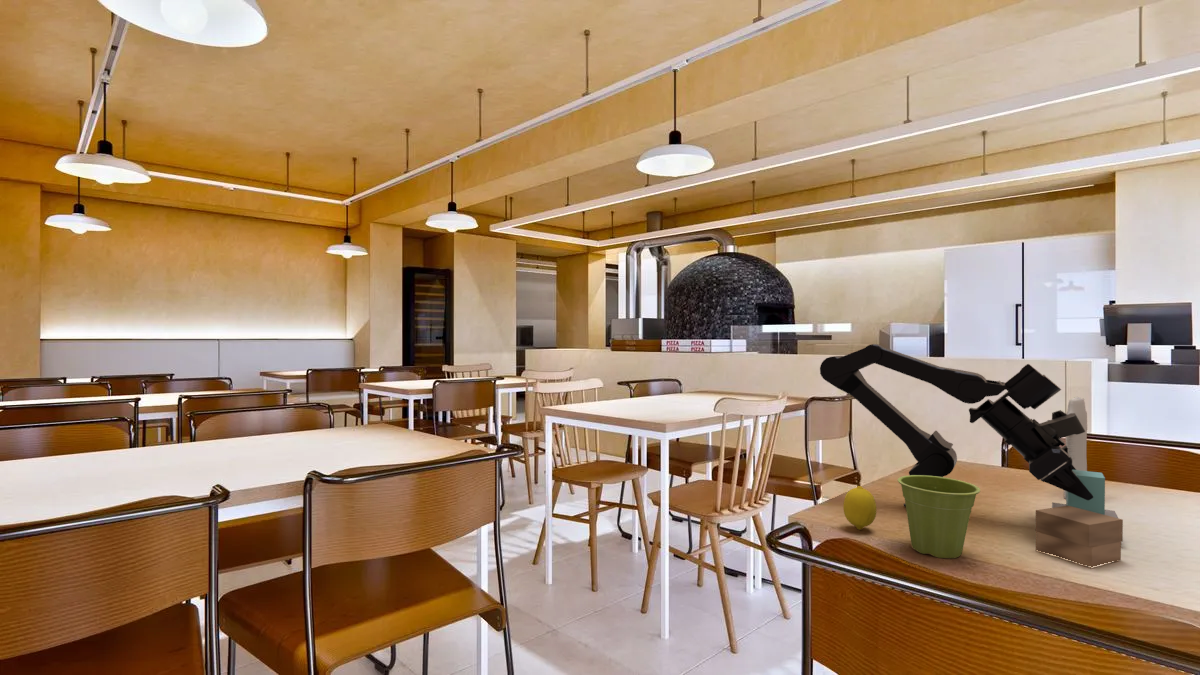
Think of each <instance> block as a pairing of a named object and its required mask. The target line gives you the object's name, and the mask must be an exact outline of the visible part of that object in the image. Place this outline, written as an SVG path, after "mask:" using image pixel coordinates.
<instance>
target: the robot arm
mask: <svg viewBox="0 0 1200 675" xmlns="http://www.w3.org/2000/svg"><path fill="white" fill-rule="evenodd" d="M820 363H821V364H820V366H819V372H820V373H819V374H820V377H822V379H823V380H825V381H826V382H827V383H829V384H830V385H832V386H834V387H835V388H836V389H838V390H840V391H842V392H844V393H846V394H848V395H850V396H851V397H853V398H854V399H855V400H856V401H857V402H859V404H860V405H862V406H863V407H864V408H865V409H866V410H867V411H869V412H870V413H871V414H872V415H873V417H875V418H876V419H878V420H879V421H880V423H882V424H883V425H884V426H885V427H887V428H888V429H889V431H891V432H892V433H893V434H894V435H895V436H896V437H898V439H899V440H901V441H902V442H903V443H904V444H905V445H906V446H907V448H908V450H909V451H910V453H911V454H912V456H913V458H914V459H915V460H916V461H917V462H916V463H914V465H913V466H912V467H911V468H910V470H909V471H908V475H924V476H925V475H927V476H938V477H946V476H948V475H950V474H951V473H952V472H953V470H954V469H955V467H956V465H957V462H958V456H957V452H956V451H955V450H954V448H953V446H954V444H953V443H952V442H949V441H947V440H946V439H945V438H944V437H943V436H942V435H941V433H939V431H938V430H934V431H933V432H932V433H928V432H926V431H924V430H923V429H921V428H920V427H918V426H917V425H916V424H915V423H914V422H913V421H911V419H909V418H908V417H907V416H906V415H904V414H903V413H902V412H901V411H900V410H899V409H898V408H897V407H896V406H894V405H893V404H892V403H891V402H890V401H889V400H888V399H887V398H885V397H884V396H883V395H882V394H881V393H880V392H879V391H878V390H876V389H875V388H874V387H873V386H872V385H871V384H869V383H868V382H867V380H866V379H865V377H864V376H863V374H862V373H861V371H860V370H862V369H864V368H866V367H869V366H870V365H874V364H876V365H878V366H882V367H884V368H887V369H890V370H892V371H895V372H898V373H901V374H903V375H906V376H909V377H912V378H915V379H917V380H920V381H922V382H925V383H928V384H930V385H932V386H934V387H936V388H937V389H939V390H940V391H943V392H944V393H946V394H947V395H949V396H950V397H953V398H954V399H956V400H958V401H960V402H962V403H964V404H968V405H970V404H971V405H973V404H977V403H979V402H981V401H983V400H984V399H985V398H987V397H993V396H994V397H995V396H999V395H1000V394H1001V393H1003V392H1004V391H1007V392H1005V393H1004V394H1003V395H1001V396H999V398H998V399H996V400H995V401H992V400H991V399H987V400H985V401H984V402H983V403H981V404H980V405H979V406H977V407H976V408H974V407H970V408H968V412H969V423H971V424H974V423H976V422H977V421H978V420H979V419H982V420H983V421H984V422H985V423H987V425H988V426H990V427H991V428H992V429H993V430H994V431H995V432H996V434H998V435H999V436H1001V437H1002V438H1003V439H1004V442H1005V443H1006V444H1007V445H1008V446H1011V447H1013V448H1014V450H1016V451H1017V452H1018V453H1019V454H1020V455H1021V456H1022V457H1023V459H1024V460H1025V461H1026V462H1027V463H1028V466H1029V467H1028V470H1029V471H1028V472H1029V473H1030V474H1031V475H1032V476H1033V477H1034V478H1035V479H1036V480H1038V481H1041V482H1043V483H1046V484H1049V485H1050V486H1051V485H1052V486H1053V487H1055V488H1058V489H1061V490H1063V491H1064V490H1065V491H1067V492H1070V493H1072V494H1074V495H1076V496H1079V497H1081V498H1083V499H1085V500H1090V499H1092V498H1093V495H1092V494H1091V493H1090V491H1089V490H1088V489H1087V488H1086V486H1085V485H1084V484H1083V483H1082V482H1081V480H1080V479H1079V478H1078V477H1077V475H1076V474H1075V473H1074V472H1073V471H1072V470H1076V468H1075V467H1074V466H1073V465H1072V458H1071V457H1070V456H1069V455H1068V448H1067V446H1066V442H1065V441H1063V440H1062V439H1063V438H1066V436H1070V435H1073V434H1076V435H1078V434H1081V433H1084V432H1085V430H1084V428H1083V426H1082V425H1081V423H1080V421H1079V419H1078V418H1077V416H1076V414H1075V413H1070V414H1068V415H1067V414H1066V413H1067V412H1066V413H1065V412H1064V411H1063V410H1061V409H1060V410H1056V411H1053V412H1051V419H1048V420H1046V421H1044V422H1041V423H1039V421H1037V420H1036V419H1035V418H1030V417H1028V416H1027V415H1026V414H1025V412H1023V411H1022V410H1020V409H1019V408H1018V407H1017V406H1016V405H1015V404H1013V403H1012V402H1011V401H1010V400H1009V399H1008V397H1009V398H1010V399H1011V400H1013V401H1014V402H1015V403H1016V404H1017V405H1019V407H1021V408H1022V409H1023V410H1026V409H1029V408H1032V409H1033V410H1036V409H1038V408H1039V407H1040V406H1041V405H1043V404H1044V403H1046V402H1047V401H1048V400H1050V399H1051V398H1052V397H1054V396H1055V395H1056V394H1058V393H1059V392H1060V391H1062V389H1061V388H1060V386H1058V385H1057V384H1056V383H1055V382H1054V381H1052V379H1050V378H1049V377H1048V376H1046V375H1045V374H1042V373H1041V372H1040V371H1038V370H1037V369H1036V368H1034V367H1033V366H1032V365H1031V364H1029V363H1027V364H1025V365H1024V366H1023V367H1021V369H1020V370H1019V372H1017V373H1016V374H1014V375H1013V376H1011V378H1009V379H1008V380H1007V381H1006V382H1004V381H1001V380H991V379H986V378H985V376H983V375H982V374H980V373H978V372H972V371H969V370H968V371H966V370H962V369H958V368H957V369H956V368H950V367H944V366H938V365H936V364H933V363H931V362H928V361H925V360H921V359H920V358H919V359H918V358H917V357H913V356H910V355H908V354H905V353H902V352H899V351H896V350H893V349H891V348H888V347H885V346H883V345H882V344H878V343H873V344H869V345H867V346H866V347H864V348H861V349H859V350H856V351H854V352H853V351H852V352H850V353H848V354H845V355H835V356H829V357H826V358H825V359H823V361H822V362H820ZM903 507H905V508H906V504H905V503H903Z"/></svg>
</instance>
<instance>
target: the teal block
mask: <svg viewBox="0 0 1200 675" xmlns="http://www.w3.org/2000/svg"><path fill="white" fill-rule="evenodd" d="M1072 471H1073V472H1074V473H1075V474H1076V475H1077V477H1078V478H1079V479H1080V480H1081V482H1082V483H1083V484H1084V485H1085V486H1086V488H1087V489H1088V490H1089V491H1090V493H1091V494H1092V495H1093V498H1092V499H1090V500H1085V499H1083V498H1081V497H1079V496H1076V495H1074V494H1072V493H1070V492H1067V491H1066V499H1065V504H1066V506H1072V507H1075V508H1079V509H1083V510H1087V511H1091V512H1095V513H1099V514H1103V515H1105V510H1106V506H1105V505H1106V477H1105V475H1104V474H1103V472H1097V471H1088V470H1087V471H1081V470H1072Z"/></svg>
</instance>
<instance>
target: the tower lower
mask: <svg viewBox="0 0 1200 675" xmlns="http://www.w3.org/2000/svg"><path fill="white" fill-rule="evenodd" d="M1036 550H1038V551H1041V552H1045V553H1049V554H1053V555H1056V556H1059V557H1062V558H1065V559H1068V560H1071V561H1074V562H1077V563H1080V564H1083V565H1087V566H1091V567H1093V566H1097V565H1100V564H1104V563H1108V562H1112V561H1117V560H1121V561H1122V542H1117V543H1112V544H1106V545H1101V546H1095V547H1086V546H1082V545H1079V544H1076V543H1073V542H1069V541H1066V540H1063V539H1060V538H1056V537H1053V536H1050V535H1047V534H1043V533H1040V532H1037V531H1035V551H1036ZM1041 552H1040V553H1041ZM1117 562H1118V561H1117Z"/></svg>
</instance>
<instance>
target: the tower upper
mask: <svg viewBox="0 0 1200 675" xmlns="http://www.w3.org/2000/svg"><path fill="white" fill-rule="evenodd" d="M1123 521H1124V519H1122V518H1119V517H1118V518H1115V517H1111V516H1107V515H1103V514H1099V513H1095V512H1091V511H1087V510H1083V509H1079V508H1075V507H1072V506H1062V507H1055V508H1052V507H1049V508H1042V509H1036V510H1035V532H1040V533H1043V534H1047V535H1050V536H1053V537H1056V538H1060V539H1063V540H1066V541H1069V542H1073V543H1076V544H1079V545H1082V546H1086V547H1095V546H1101V545H1106V544H1112V543H1117V542H1121V543H1122V542H1123V541H1124V540H1123V539H1124V538H1123V536H1124V535H1123V534H1124V533H1123V531H1124V530H1123V529H1124V528H1123V527H1124V523H1123Z"/></svg>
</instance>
